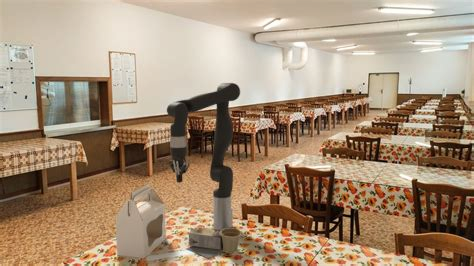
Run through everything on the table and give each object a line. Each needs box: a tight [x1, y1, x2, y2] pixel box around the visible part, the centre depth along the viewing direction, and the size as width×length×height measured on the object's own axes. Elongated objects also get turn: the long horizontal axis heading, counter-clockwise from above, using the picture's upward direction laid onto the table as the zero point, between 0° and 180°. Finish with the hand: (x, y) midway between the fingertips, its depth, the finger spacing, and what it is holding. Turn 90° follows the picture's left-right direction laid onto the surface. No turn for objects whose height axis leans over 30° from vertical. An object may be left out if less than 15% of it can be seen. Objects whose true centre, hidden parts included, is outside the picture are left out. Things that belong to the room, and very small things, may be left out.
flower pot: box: [221, 227, 242, 254], centre depth 165 cm, size 9×9×9 cm
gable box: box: [115, 183, 167, 259], centre depth 169 cm, size 22×13×28 cm, turn 166°
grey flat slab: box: [186, 246, 224, 260], centre depth 166 cm, size 9×14×1 cm, turn 47°
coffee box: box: [188, 226, 223, 251], centre depth 171 cm, size 9×6×16 cm
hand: (179, 182), depth 173 cm, fingers closed
